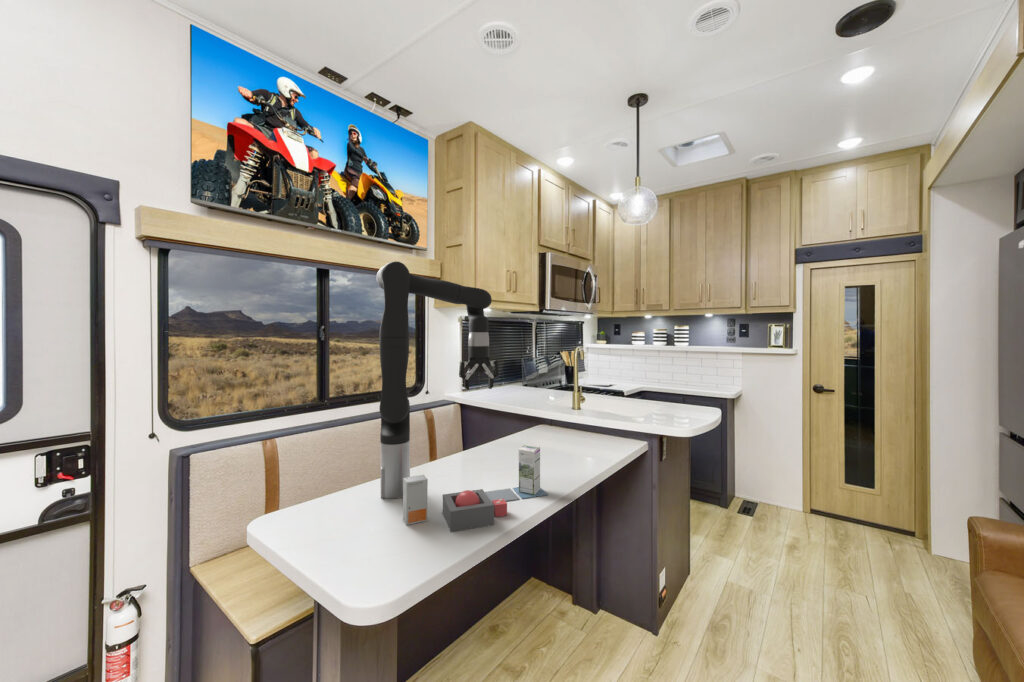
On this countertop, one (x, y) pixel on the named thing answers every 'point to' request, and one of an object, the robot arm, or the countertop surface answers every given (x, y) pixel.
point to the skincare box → (415, 499)
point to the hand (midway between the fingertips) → (478, 389)
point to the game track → (511, 494)
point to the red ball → (467, 499)
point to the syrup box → (529, 469)
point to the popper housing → (472, 512)
